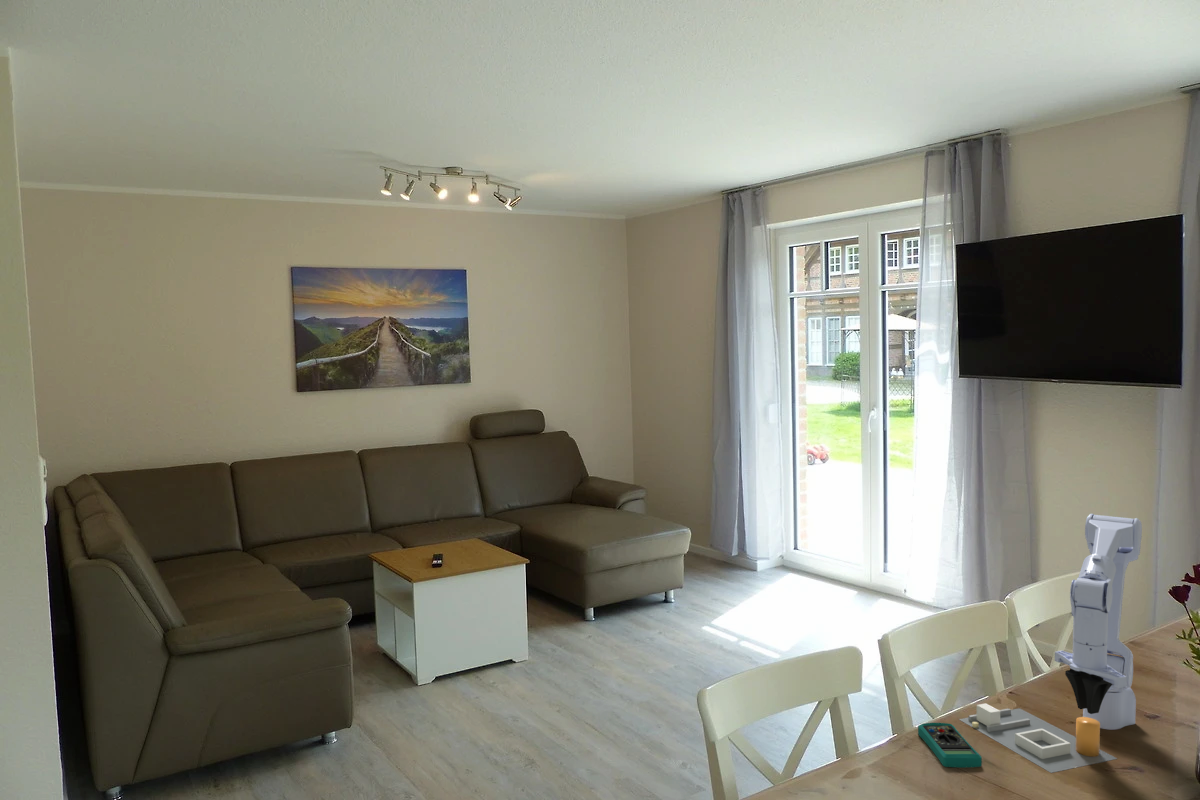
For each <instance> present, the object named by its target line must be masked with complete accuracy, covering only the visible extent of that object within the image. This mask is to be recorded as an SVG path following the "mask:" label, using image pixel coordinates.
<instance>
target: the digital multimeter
mask: <svg viewBox="0 0 1200 800" xmlns="http://www.w3.org/2000/svg"><path fill="white" fill-rule="evenodd" d="M917 735H918V736H919V737H920V738H921V739H922V740H923V742H924V743H925V744H926V745H927V746H928V747H929V748H930V750H931V751H932V752H933V754H935V757H936V758H937V759H938V760H939V762H940V763H941V765H942V766H943V767H944V768H957V769H959V768H962V769H963V768H966V769H967V768H981V767H982V760H983V759H982V758H983V757H982V755H980V754H979V752H978V751H977V750H975V748H974V747H972V745H970V743H969V742H968V741H967V740H966V738H964V737H963V735H962V734H961V733H960V732H959V731H958V729H957V728H956V727H955V726H954V725H953V724H952V723H946V722H926V723H921V724H918V725H917Z"/></svg>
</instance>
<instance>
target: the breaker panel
mask: <svg viewBox="0 0 1200 800" xmlns="http://www.w3.org/2000/svg"><path fill="white" fill-rule="evenodd" d="M998 710H999V711H1000V724H995V725H990V726H986V725H985V724H983V723H981V722H979V721H978V720H976V715H977V713H976V714H970V715H968V717H964V718H959V719H958V720H959V721H961V722H963V723H964V724H965V725H967V726H969V727H971V728H973V729H974V730H976V731H977V732H979V733H981V734H983V735H985V736H986V737H988V738H990V739H991V740H993V741H995V742H996V743H999V744H1000V745H1001V746H1003V747H1006V748H1007V749H1009V750H1011V751H1012V752H1014V753H1015V754H1017V755H1019V756H1021V757H1023V758H1024V759H1026V760H1028V761H1030V762H1031V763H1033V764H1035V765H1037V766H1038V767H1040V768H1042V769H1044V770H1045V771H1047V772H1049V773H1050V774H1053V773H1057V772H1062V771H1063V772H1064V771H1067V770H1072V769H1076V768H1082V767H1086V766H1090V765H1091V766H1092V765H1094V764H1100V763H1105V762H1110V761H1113V760H1114V761H1115V760H1118V758H1117V757H1115V756H1114V755H1112V754H1109V753H1108V752H1106V751H1104V750H1102V749H1100V748H1099V755H1098V756H1095V757H1090V756H1085V755H1082V754H1080V753H1078V752H1077V751H1076V735H1073V734H1071V733H1069V732H1066V731H1065V730H1063V729H1061V728H1059V727H1057V726H1055V725H1053V724H1051V723H1049V722H1047V721H1046V720H1044V719H1041V718H1039V717H1037V716H1036V715H1034V714H1031V713H1030V712H1028V711H1026V710H1025V709H1022V708H1020V707H1019V708H1013V709H1012V708H1011V709H1010V708H1002V709H998Z"/></svg>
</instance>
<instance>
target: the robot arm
mask: <svg viewBox="0 0 1200 800" xmlns="http://www.w3.org/2000/svg"><path fill="white" fill-rule="evenodd" d="M1142 534H1143V524H1142V521H1141V520H1140V519H1139V518H1138V517H1135V518H1130V517H1122V516H1121V517H1120V516H1111V515H1102V514H1101V515H1100V514H1094V513H1089V514H1088V515H1087V517H1086V518H1085V525H1084V536H1085V538H1084V539H1085V540H1086V545H1087V549H1088V550H1089V554H1090V555H1087V556H1086V557H1085V558H1084V559H1083V562H1082V565H1081V568H1080V571H1079V574H1078V577H1077V578H1076V579H1074V578H1073V579H1072V580H1071V583H1070V590H1069V600H1070V605H1071V607H1070V608H1071V616H1072V617H1073V623H1072V652H1068V651H1065V650H1056V651H1054V662H1056V663H1062V664H1065V665H1067V666H1069V669H1068V670H1065V673H1064V675H1065V677H1066V678H1067V680H1068V681H1069V683H1070V685H1071V688H1072V690H1073V694H1074V696H1075V701H1076V704H1077V708H1078V709H1079V710H1082V717H1088V718H1092V719H1095V720H1097V721H1099V722H1100V729H1103V730H1120V729H1122V728H1124V727H1127V726H1131V725H1135V724H1136V714H1137V713H1136V710H1137V709H1136V708H1137V699H1136V694H1135V693H1134V691H1133V689H1132V688H1131V687H1132V684H1133V680H1134V679H1133V678H1134V654H1133V652H1132V650H1131V649H1130V648H1129V647H1128V646H1127V645H1126V644H1124V642H1122V641H1121V640H1120V632H1121V624H1122V623H1121V621H1122V610H1123V601H1124V600H1123V599H1124V589H1125V578H1126V571H1127V569H1128V566H1129V563H1131V562H1134V561H1137V560H1139V556H1140V553H1141V545H1142V544H1141V543H1142V537H1143V536H1142Z"/></svg>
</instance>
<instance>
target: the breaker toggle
mask: <svg viewBox="0 0 1200 800" xmlns="http://www.w3.org/2000/svg"><path fill="white" fill-rule="evenodd" d="M999 710H1000V709H997V708H995V707H993V706H992V705H990V704H988V703H987V702H986V703H980V704H976V714H977V715H976V720H978V721H979V722H981V723H983V724H985V725H986V726H990V725H995V724H1000V711H999Z"/></svg>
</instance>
